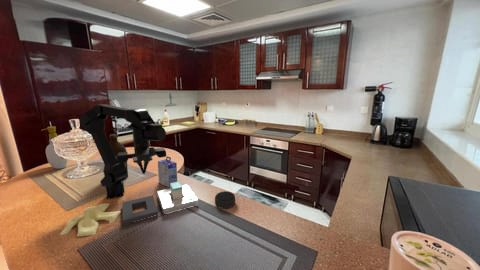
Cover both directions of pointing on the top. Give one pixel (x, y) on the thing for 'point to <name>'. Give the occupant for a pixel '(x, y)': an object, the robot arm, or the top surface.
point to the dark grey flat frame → (131, 217)
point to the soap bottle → (50, 153)
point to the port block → (182, 203)
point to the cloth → (91, 219)
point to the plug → (176, 191)
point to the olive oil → (117, 148)
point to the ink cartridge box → (167, 172)
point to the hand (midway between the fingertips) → (143, 173)
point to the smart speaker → (225, 199)
